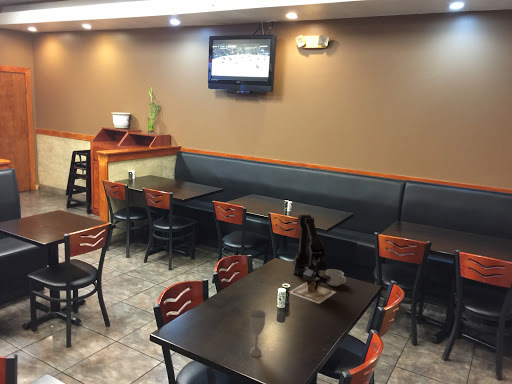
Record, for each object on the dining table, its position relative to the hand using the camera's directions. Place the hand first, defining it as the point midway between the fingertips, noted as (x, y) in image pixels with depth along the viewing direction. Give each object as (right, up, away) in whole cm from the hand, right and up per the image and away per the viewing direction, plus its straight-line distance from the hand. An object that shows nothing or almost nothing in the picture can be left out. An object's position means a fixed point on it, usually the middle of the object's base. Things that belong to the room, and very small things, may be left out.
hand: (312, 289), depth 235 cm
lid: (0, -2, 0) cm, 2 cm away
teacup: (+15, -1, +12) cm, 20 cm away
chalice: (-32, -13, -61) cm, 70 cm away
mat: (0, -2, 0) cm, 2 cm away
